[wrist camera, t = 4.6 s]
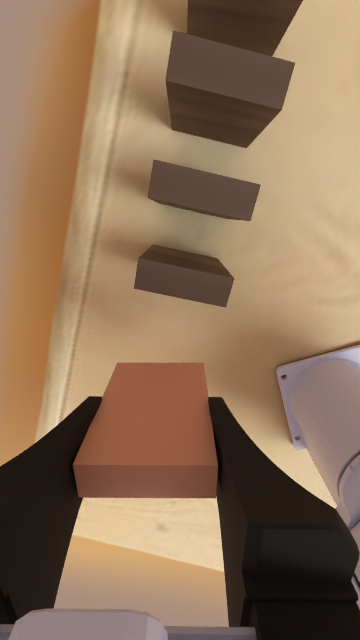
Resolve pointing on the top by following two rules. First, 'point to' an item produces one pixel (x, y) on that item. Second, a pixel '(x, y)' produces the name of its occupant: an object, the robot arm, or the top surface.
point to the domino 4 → (183, 276)
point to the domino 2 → (223, 89)
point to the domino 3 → (202, 191)
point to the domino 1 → (242, 22)
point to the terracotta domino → (150, 436)
